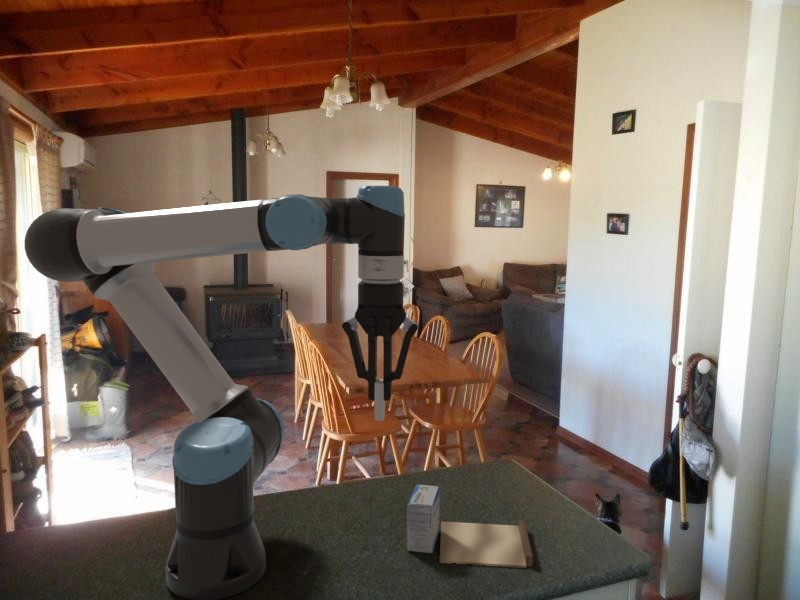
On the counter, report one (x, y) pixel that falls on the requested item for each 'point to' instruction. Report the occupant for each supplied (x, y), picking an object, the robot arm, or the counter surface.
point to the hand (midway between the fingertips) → (379, 418)
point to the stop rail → (525, 543)
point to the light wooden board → (481, 544)
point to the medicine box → (423, 519)
